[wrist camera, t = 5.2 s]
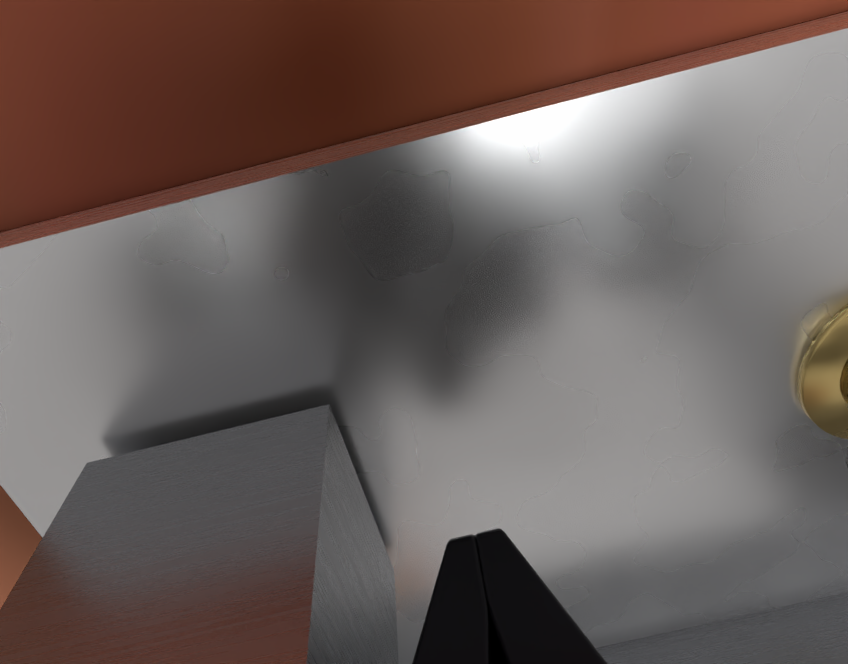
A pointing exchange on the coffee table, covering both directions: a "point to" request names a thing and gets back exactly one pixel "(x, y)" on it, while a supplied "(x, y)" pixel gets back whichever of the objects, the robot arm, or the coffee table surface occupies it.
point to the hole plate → (506, 341)
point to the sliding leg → (211, 557)
